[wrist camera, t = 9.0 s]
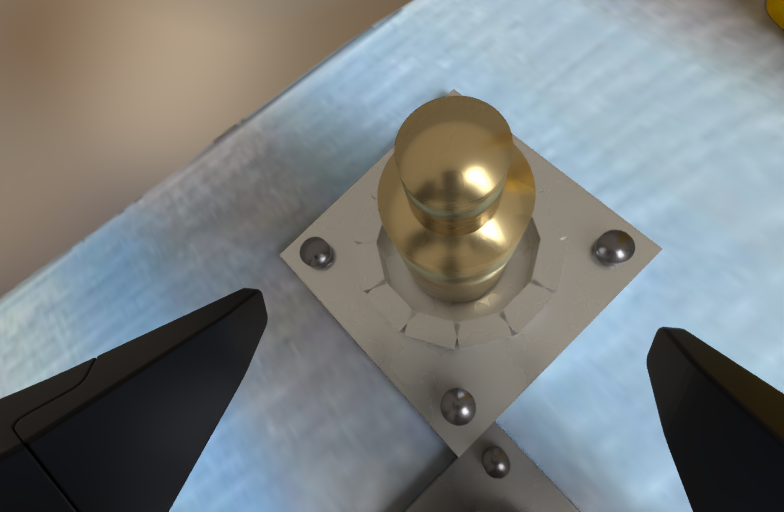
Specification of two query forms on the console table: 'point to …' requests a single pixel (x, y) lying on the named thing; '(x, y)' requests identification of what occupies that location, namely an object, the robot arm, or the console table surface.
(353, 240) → the flange large
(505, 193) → the gold metal cylinder
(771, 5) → the yellow tall sculpted piece
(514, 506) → the flange small
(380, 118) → the console table surface
